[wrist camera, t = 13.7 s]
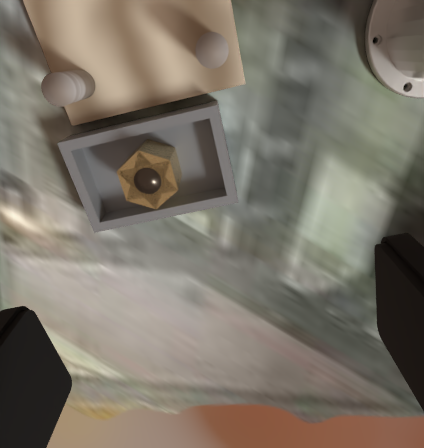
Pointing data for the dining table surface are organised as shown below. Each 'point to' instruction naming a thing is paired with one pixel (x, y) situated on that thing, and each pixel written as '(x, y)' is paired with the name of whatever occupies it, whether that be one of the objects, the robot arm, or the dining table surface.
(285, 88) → the dining table surface
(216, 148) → the tray
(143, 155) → the tan faceted piece
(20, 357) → the robot arm
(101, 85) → the spacer board
